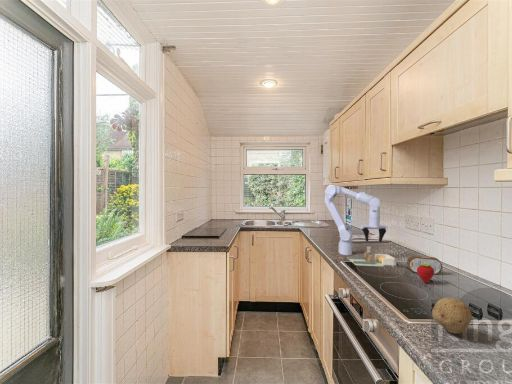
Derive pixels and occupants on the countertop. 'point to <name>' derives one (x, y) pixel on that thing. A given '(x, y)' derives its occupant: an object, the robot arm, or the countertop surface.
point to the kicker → (369, 255)
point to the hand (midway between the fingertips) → (373, 241)
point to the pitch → (385, 261)
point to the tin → (418, 260)
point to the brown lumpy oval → (452, 315)
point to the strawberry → (425, 272)
